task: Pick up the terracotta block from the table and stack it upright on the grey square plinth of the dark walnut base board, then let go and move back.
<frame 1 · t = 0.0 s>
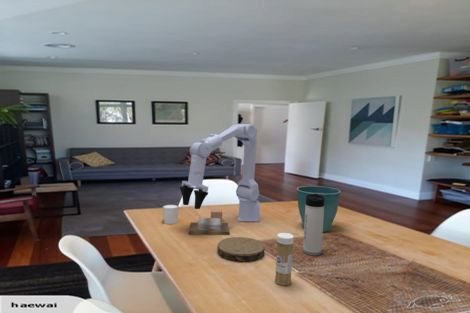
hand: (191, 206, 128), 11 cm above the table, tool pointing down, fingers open, 7 cm apart
flower pot: (316, 228, 141), on the table
travel mug: (312, 252, 113), on the table
terracotta block: (216, 221, 146), on the table
wood slice coaster: (240, 254, 110), on the table
walnut base: (209, 229, 134), on the table
sprinkles bottle: (283, 282, 90), on the table
grey cup: (170, 222, 142), on the table
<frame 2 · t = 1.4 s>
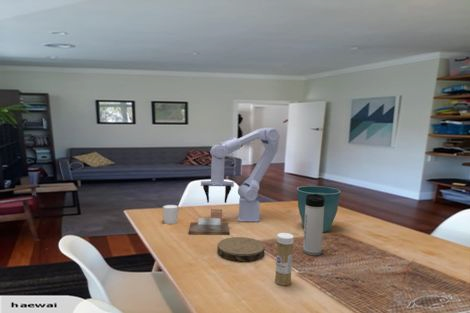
hand: (216, 202, 145), 9 cm above the table, tool pointing down, fingers open, 7 cm apart
nothing on the table moved.
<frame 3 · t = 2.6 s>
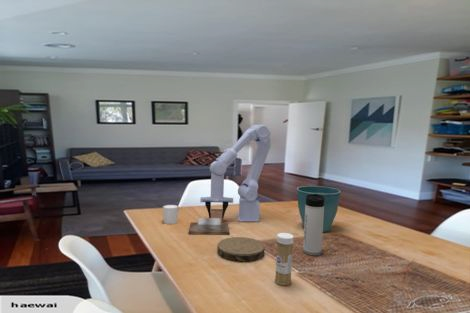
hand: (216, 218, 146), 1 cm above the table, tool pointing down, fingers closed on terracotta block, 5 cm apart
terracotta block: (216, 221, 146), on the table, touching gripper
everything else where it was.
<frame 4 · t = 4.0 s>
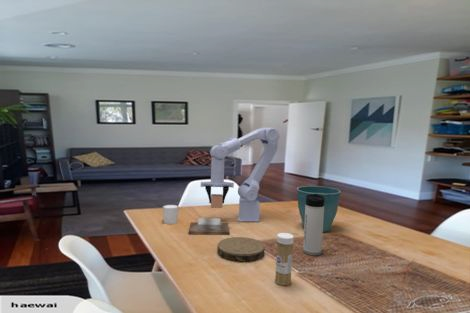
hand: (216, 203, 145), 8 cm above the table, tool pointing down, fingers closed on terracotta block, 5 cm apart
terracotta block: (216, 206, 145), point 7 cm above the table, touching gripper
everything else where it was.
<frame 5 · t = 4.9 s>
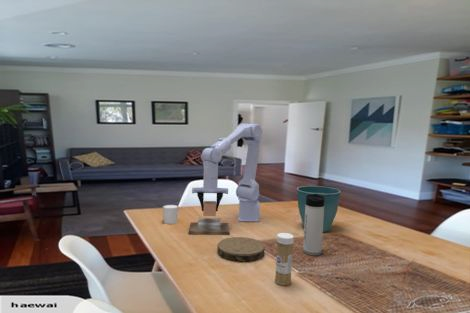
hand: (209, 210, 133), 8 cm above the table, tool pointing down, fingers closed on terracotta block, 5 cm apart
terracotta block: (209, 214, 133), point 6 cm above the table, touching gripper
everything else where it was.
when the fingers open (6 cm above the table, at t = 5.7 s): terracotta block drops 1 cm, resting on walnut base.
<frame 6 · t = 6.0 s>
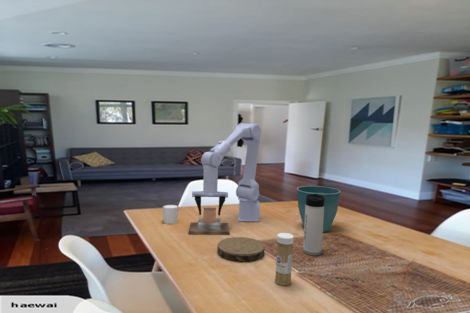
hand: (209, 214, 133), 6 cm above the table, tool pointing down, fingers open, 7 cm apart
terracotta block: (209, 221, 133), point 4 cm above the table, touching walnut base
everything else where it was.
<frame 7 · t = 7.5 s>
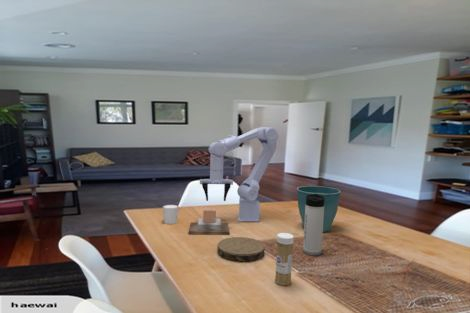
hand: (215, 200, 143), 10 cm above the table, tool pointing down, fingers open, 7 cm apart
nothing on the table moved.
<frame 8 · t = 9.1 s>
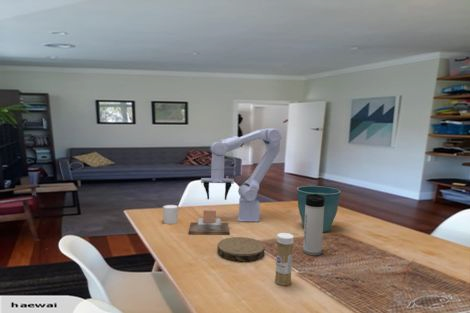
hand: (216, 199, 146), 10 cm above the table, tool pointing down, fingers open, 7 cm apart
nothing on the table moved.
at the end: terracotta block 0.3 cm off-centre on the walnut base, point 3.6 cm above the walnut base's base; terracotta block tilted 0°; the gripper is holding nothing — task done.
